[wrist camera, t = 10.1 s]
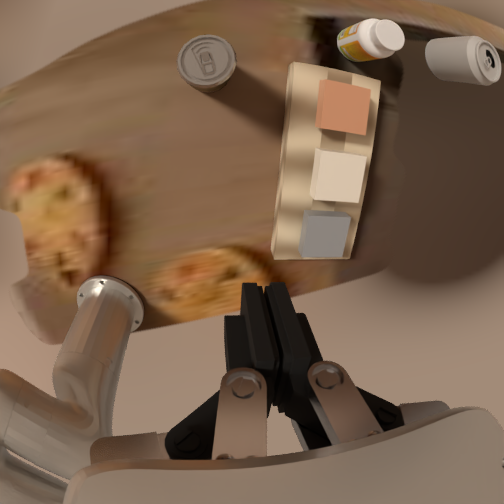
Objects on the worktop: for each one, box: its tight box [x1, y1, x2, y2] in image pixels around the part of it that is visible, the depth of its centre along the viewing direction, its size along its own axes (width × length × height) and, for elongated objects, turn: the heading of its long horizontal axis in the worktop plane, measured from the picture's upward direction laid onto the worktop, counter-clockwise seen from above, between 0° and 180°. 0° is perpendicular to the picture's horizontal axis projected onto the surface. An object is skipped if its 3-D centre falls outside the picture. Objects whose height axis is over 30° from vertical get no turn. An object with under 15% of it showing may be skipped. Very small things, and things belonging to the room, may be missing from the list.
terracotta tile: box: [315, 79, 371, 136], centre depth 31 cm, size 6×6×4 cm
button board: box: [271, 62, 381, 259], centre depth 37 cm, size 27×12×3 cm, turn 176°
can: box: [425, 36, 501, 85], centre depth 26 cm, size 8×8×12 cm
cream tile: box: [309, 148, 367, 203], centre depth 34 cm, size 6×6×4 cm
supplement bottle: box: [337, 19, 404, 62], centre depth 26 cm, size 5×5×10 cm
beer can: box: [177, 35, 237, 93], centre depth 26 cm, size 5×5×12 cm
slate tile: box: [298, 210, 351, 257], centre depth 39 cm, size 6×6×4 cm
